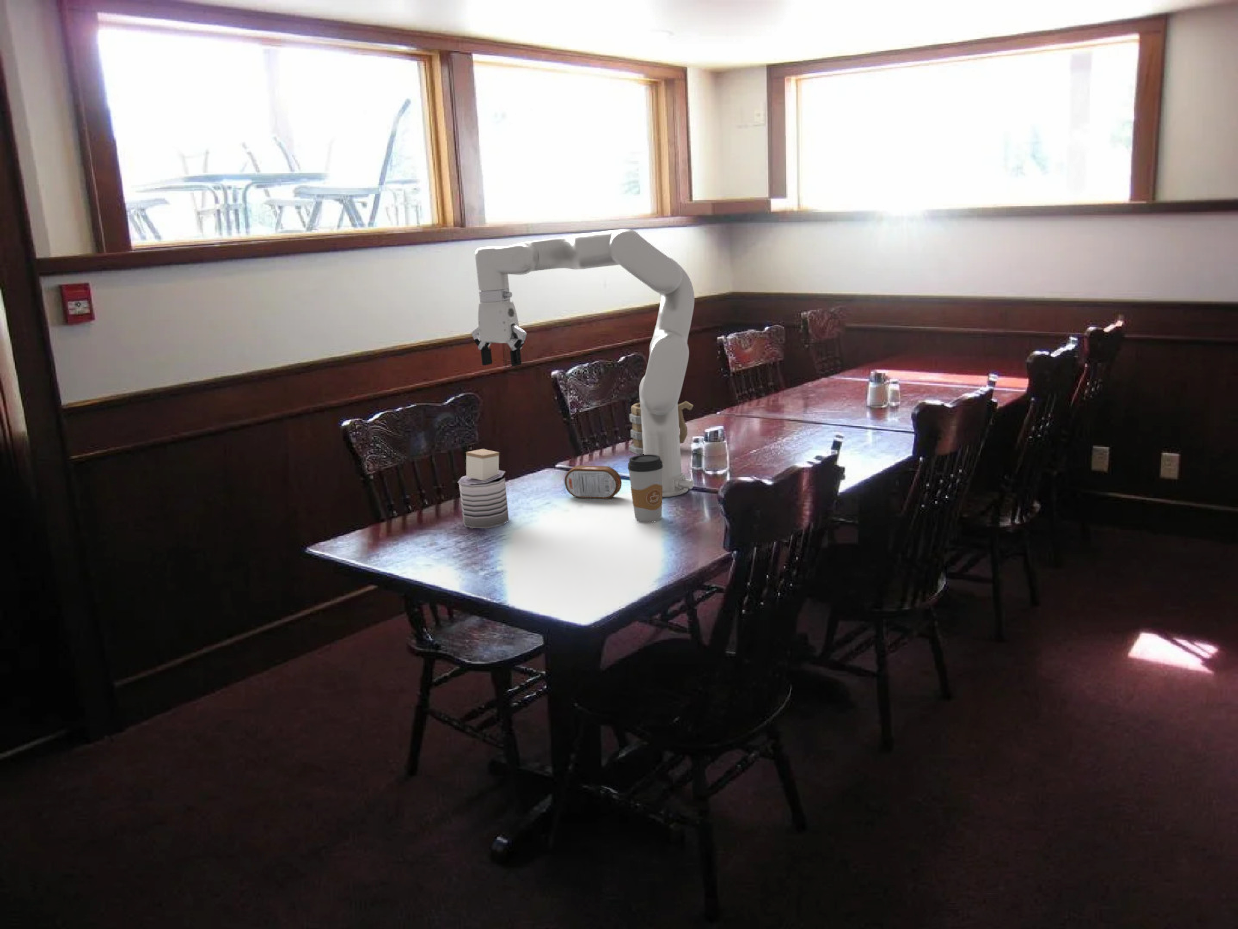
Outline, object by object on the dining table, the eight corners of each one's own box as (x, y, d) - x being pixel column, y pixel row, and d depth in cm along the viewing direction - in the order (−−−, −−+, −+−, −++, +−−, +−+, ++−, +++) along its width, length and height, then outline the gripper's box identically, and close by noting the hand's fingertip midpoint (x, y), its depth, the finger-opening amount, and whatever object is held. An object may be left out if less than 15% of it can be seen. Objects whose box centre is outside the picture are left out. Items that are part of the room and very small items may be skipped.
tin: (623, 497, 275) (620, 465, 273) (619, 500, 272) (616, 468, 270) (568, 495, 280) (566, 464, 278) (564, 498, 277) (561, 467, 275)
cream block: (498, 476, 259) (499, 452, 258) (482, 480, 255) (482, 455, 254) (482, 473, 263) (482, 448, 261) (466, 476, 258) (466, 452, 257)
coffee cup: (641, 526, 249) (637, 464, 246) (625, 518, 256) (620, 457, 253) (672, 519, 253) (668, 458, 249) (655, 511, 260) (651, 452, 256)
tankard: (624, 454, 321) (621, 405, 318) (639, 444, 332) (636, 397, 329) (687, 456, 314) (685, 405, 310) (700, 446, 325) (698, 397, 321)
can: (506, 527, 256) (501, 479, 253) (459, 530, 256) (454, 482, 253) (511, 514, 267) (507, 467, 264) (466, 516, 267) (461, 470, 264)
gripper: (531, 294, 263) (537, 363, 267) (478, 295, 273) (486, 361, 277) (511, 298, 257) (518, 368, 261) (458, 299, 267) (466, 366, 271)
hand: (501, 365), depth 269 cm, fingers open, 9 cm apart
